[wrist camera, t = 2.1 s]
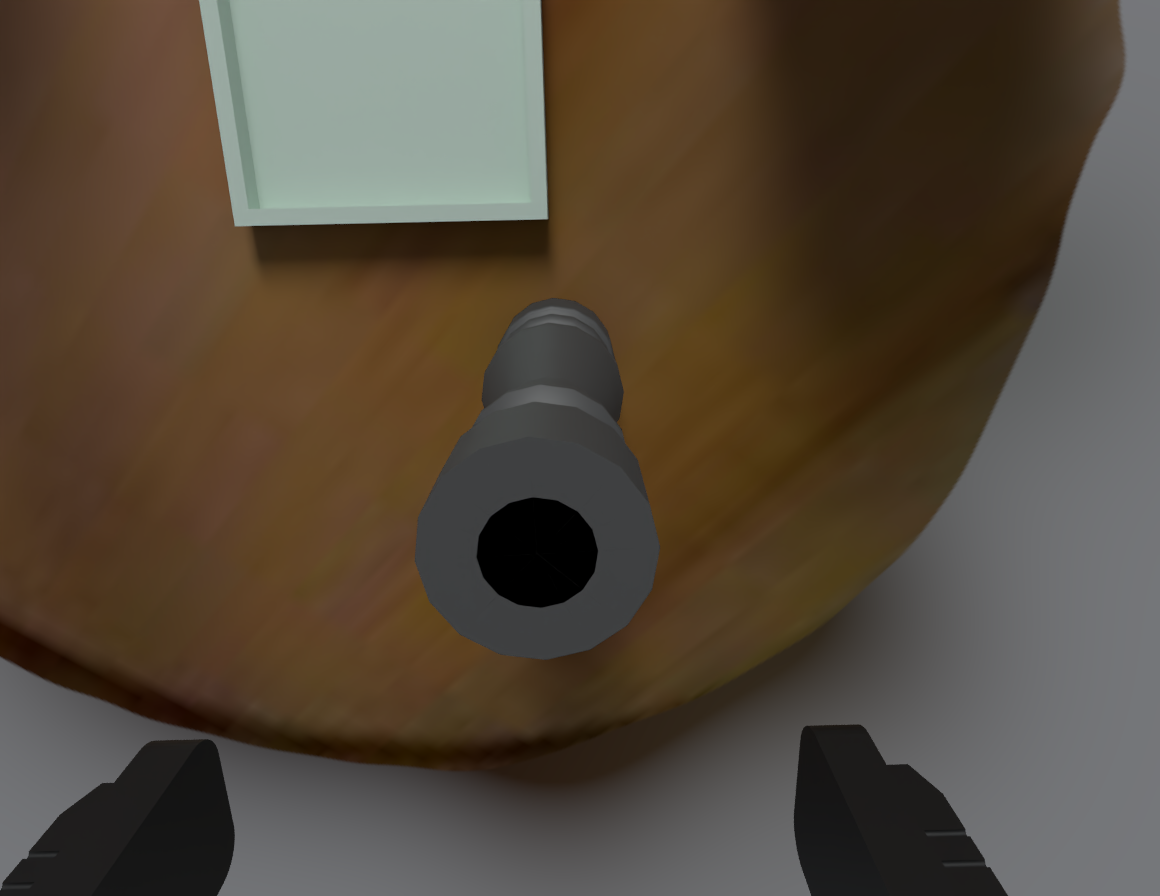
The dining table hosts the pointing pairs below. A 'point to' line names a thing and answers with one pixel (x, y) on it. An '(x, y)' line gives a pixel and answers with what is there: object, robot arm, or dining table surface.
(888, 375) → the dining table surface
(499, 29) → the tray
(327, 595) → the dining table surface
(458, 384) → the dining table surface
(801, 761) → the robot arm
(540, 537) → the candle holder
